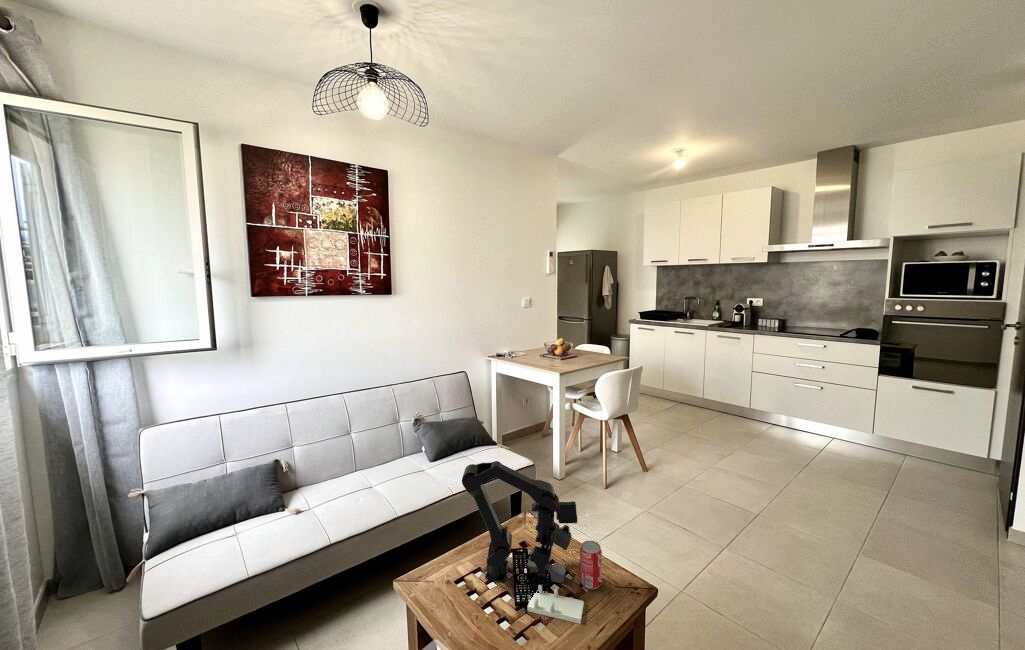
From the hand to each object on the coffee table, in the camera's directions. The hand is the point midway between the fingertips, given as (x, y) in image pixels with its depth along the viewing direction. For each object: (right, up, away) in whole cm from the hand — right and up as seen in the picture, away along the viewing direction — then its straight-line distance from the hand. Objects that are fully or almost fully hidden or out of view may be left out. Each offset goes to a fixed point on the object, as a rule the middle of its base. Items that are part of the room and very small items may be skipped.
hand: (545, 565), depth 138 cm
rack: (+2, -5, -14) cm, 15 cm away
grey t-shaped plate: (0, -4, 0) cm, 4 cm away
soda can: (+15, -4, -4) cm, 16 cm away
